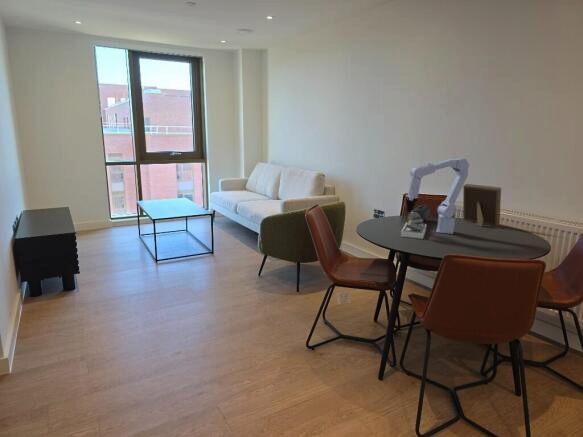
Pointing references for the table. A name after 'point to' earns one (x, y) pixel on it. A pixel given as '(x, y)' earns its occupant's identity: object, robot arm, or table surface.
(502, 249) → the table surface
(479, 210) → the photo frame
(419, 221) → the far rocker
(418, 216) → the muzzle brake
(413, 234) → the switch panel
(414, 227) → the near rocker
